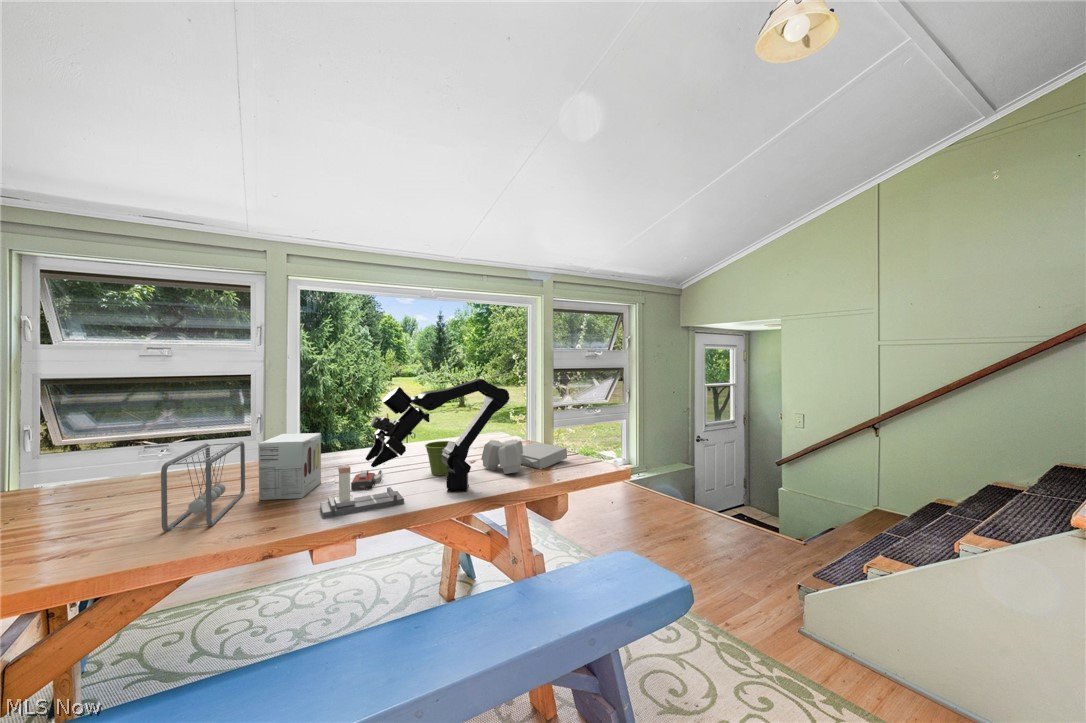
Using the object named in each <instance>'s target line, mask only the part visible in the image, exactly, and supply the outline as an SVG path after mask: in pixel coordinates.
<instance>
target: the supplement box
mask: <svg viewBox="0 0 1086 723" xmlns="http://www.w3.org/2000/svg"><path fill="white" fill-rule="evenodd" d="M321 437H322V433H321V432H314V433H313V432H310V433H309V432H307V433H306V432H303V433H301V432H299V433H281V434H278V435H276V436H273V437H271V438H269V439H266V440H263V441H261V442H259V443H258V500H259V501H268V500H292V499H303V498H304V497H305V496H306V495H307V494H309V493H310V492H311V491H312V490H314V489H316V488H317V487H318V486H319V485H320V484H322V442H321V441H322V438H321Z"/></svg>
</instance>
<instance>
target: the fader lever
mask: <svg viewBox="0 0 1086 723" xmlns="http://www.w3.org/2000/svg"><path fill="white" fill-rule="evenodd" d="M337 470H338V496H336V497H334V498H333V500H334V503H335V505H336V508H337V507H343V506H349V505H355V499H354V498H355V497H354V495H353V494H351V466H350V465H349V464H346V465H344V464H343V465H338V469H337Z"/></svg>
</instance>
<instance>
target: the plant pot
mask: <svg viewBox="0 0 1086 723" xmlns="http://www.w3.org/2000/svg"><path fill="white" fill-rule="evenodd" d="M450 441H451V440H450ZM451 442H453V443H454V442H455V441H451ZM448 443H449V440H442V441H441V440H440V441H439V440H438V441H433V442H432V441H431V442H427V443H426V444H424V447H425V448H426V453H427V456H428V461H429V467H430V472H431V474H432V475H433V476H440V475H441V476H447V475H448V472H449V469H447V466H446V465H445V464H444V463H443V462H442V459H441V455H442V453H443V451H442V450H443V449H445V448H446V446H447V444H448Z"/></svg>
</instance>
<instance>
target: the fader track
mask: <svg viewBox="0 0 1086 723" xmlns="http://www.w3.org/2000/svg"><path fill="white" fill-rule="evenodd" d="M354 499H355V505H349V506H343V507H337V508H336V505H335V503H334V498H333V496H328V497H327V500H328V501H327V502H320V505H319V506H320V512H321V515H322V518H323V519H324V518H325V519H326V518H331V517H337V516H342V515H349V514H353V513H360V512H364V511H365V512H366V511H370V510H371V511H372V510H376V509H381V508H386V507H387V508H388V507H392V506H398V505H399V506H400V505H403V504H405V498H404V497H403V495H402V494H401V493H400V492H399V491H398V490H393V488H392V487H390V486H389V487H386V492H381V493H375V494H374V493H373V494H370V495H369V494H368V495H362V496H358V497H357V496H356V497H354Z"/></svg>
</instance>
